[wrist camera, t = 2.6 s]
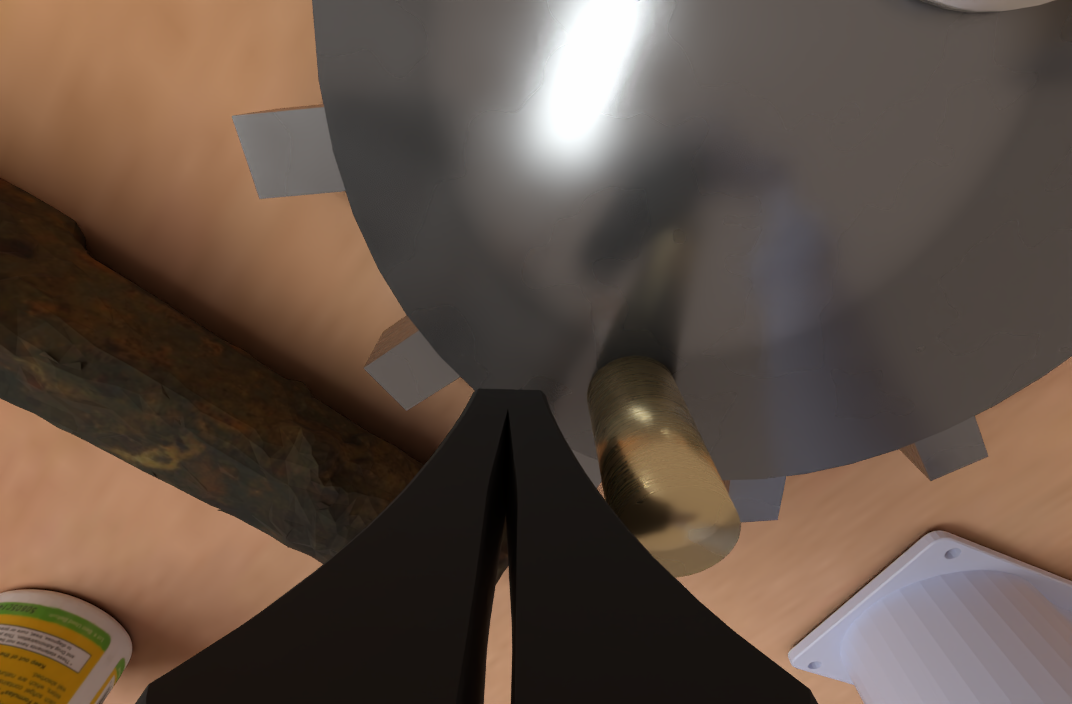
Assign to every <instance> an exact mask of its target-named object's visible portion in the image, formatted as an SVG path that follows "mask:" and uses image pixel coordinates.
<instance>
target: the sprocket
mask: <svg viewBox="0 0 1072 704" xmlns="http://www.w3.org/2000/svg"><path fill="white" fill-rule="evenodd" d="M312 4H313V16H314V28H315V41H316V53H317V65H318V78H319V84H320V89H321V94H322V99H323V104H322V105H311V106H301V107H291V108H280V109H272V110H266V111H260V112H253V113H247V114H241V115H234V116H232V119H233V122H234V125H235V128H236V130H237V133H238V136H239V139H240V142H241V145H242V148H243V151H244V154H245V157H246V160H247V163H248V166H249V169H250V172H251V175H252V178H253V181H254V184H255V187H256V189H257V192H258V195H259V198H260V199H264V198H275V197H286V196H297V195H308V194H319V193H330V192H341V191H346V194H347V197H348V200H349V203H350V206H351V209H352V212H353V215H354V217H355V219H356V222H357V224H358V226H359V228H360V230H361V232H362V235H363V237H364V239H365V241H366V243H367V245H368V248H369V250H370V252H371V254H372V256H373V258H374V261H375V263H376V265H377V267H378V269H379V271H380V273H381V274H382V276H383V277H384V279H385V281H386V282H387V284H388V285H389V287H390V289H391V290H392V292H393V294H394V295H395V297H396V298H397V300H398V302H399V303H400V305H401V307H402V308H403V310H404V311H405V313H406V316H405V317H404V318H402V319H401V320H399V321H398V322H396V323H395V324H394V325H392V326H391V327H389V328H388V329H386V330H385V331H384V332H383V333H382V335H381V337H380V339H379V341H378V343H377V344H376V346H375V348H374V350H373V352H372V354H371V355H370V357H369V359H368V361H367V363H366V365H365V366H364V369H365V370H366V371H367V372H368V373H369V374H370V375H371V376H372V377H373V378H374V379H375V380H376V381H377V382H378V383H379V384H380V385H381V386H382V387H383V388H384V389H385V390H386V391H387V392H388V393H389V394H390V395H391V396H392V397H393V398H394V399H395V400H396V401H397V402H398V403H399V404H400V405H401V406H402V407H403V408H404V409H405V410H406V411H407V410H409V409H410V408H412V407H413V406H415V405H417V404H418V403H420V402H421V401H423V400H424V399H426V398H428V397H429V396H431V395H432V394H434V393H436V392H437V391H439V390H440V389H442V388H443V387H445V386H447V385H448V384H450V383H451V382H453V381H455V380H456V379H458V378H459V377H461V378H463V379H464V380H465V381H466V382H467V383H468V384H469V385H470V386H471V387H472V388H473V389H474V390H475V391H476V390H477V389H514V390H541V391H542V392H543V393H544V394H545V395H546V399H547V402H548V404H549V407H550V409H551V412H552V414H553V416H554V418H555V420H556V423H557V425H558V427H559V429H560V431H561V432H562V434H563V436H564V438H565V440H566V442H567V443H568V445H569V447H570V448H571V450H572V452H573V453H574V455H575V457H576V458H577V460H578V462H579V463H580V465H581V466H582V468H583V469H584V471H585V473H586V474H587V476H588V477H589V478H590V480H591V481H592V483H593V484H594V486H595V487H596V488H597V487H598V486H599V484H600V483H601V481H602V486H603V491H604V497H605V501H606V502H607V503H608V505H609V506H610V507H611V508H612V510H613V511H614V512H615V514H616V515H617V516H618V517H619V518H620V520H621V521H622V522H623V523H624V524H625V526H626V527H627V528H628V529H629V530H630V531H631V533H632V534H633V535H634V536H635V537H636V538H637V539H638V540H639V541H640V543H641V544H642V545H643V546H644V547H645V548H646V549H647V550H648V551H649V552H650V554H651V555H652V556H653V557H654V558H655V559H656V560H657V561H658V562H659V563H660V564H661V565H662V566H663V567H664V568H665V569H666V570H668V571H669V572H670V573H671V574H672V575H673V576H674V577H683V576H688V575H692V574H695V573H698V572H701V571H703V570H706V569H708V568H710V567H712V566H713V565H715V564H717V563H718V562H719V561H721V560H722V559H723V558H724V557H725V556H727V555H728V554H729V552H730V551H731V550H732V549H733V547H734V546H735V544H736V543H737V540H738V538H739V535H740V529H741V523H740V522H754V521H768V520H778V515H779V510H780V505H781V500H782V495H783V490H784V485H785V480H786V476H792V475H800V474H807V473H811V472H816V471H821V470H825V469H830V468H834V467H839V466H844V465H848V464H852V463H856V462H859V461H862V460H865V459H869V458H872V457H875V456H878V455H882V454H885V453H888V452H891V451H894V450H898V449H900V450H901V451H902V452H903V453H904V454H905V455H906V456H907V457H908V458H909V459H910V460H911V462H912V463H913V464H914V465H915V466H916V467H917V468H918V469H919V470H920V471H921V472H922V473H923V474H924V475H925V476H926V477H927V478H928V479H929V480H930V481H932V480H934V479H937V478H939V477H941V476H944V475H946V474H948V473H951V472H953V471H955V470H958V469H960V468H962V467H965V466H967V465H969V464H972V463H974V462H976V461H979V460H981V459H983V458H986V457H988V454H987V451H986V448H985V445H984V442H983V439H982V436H981V433H980V430H979V427H978V424H977V421H976V418H975V415H977V414H979V413H981V412H983V411H985V410H987V409H989V408H991V407H993V406H995V405H997V404H998V403H1000V402H1002V401H1003V400H1005V399H1006V398H1008V397H1010V396H1011V395H1013V394H1015V393H1016V392H1018V391H1020V390H1021V389H1023V388H1025V387H1026V386H1028V385H1030V384H1031V383H1033V382H1035V381H1036V380H1038V379H1040V378H1041V377H1043V376H1045V375H1046V374H1047V373H1049V372H1050V371H1052V370H1053V369H1054V368H1056V367H1057V366H1059V365H1060V364H1061V363H1063V362H1064V361H1066V360H1067V359H1068V358H1070V357H1071V356H1072V0H312Z"/></svg>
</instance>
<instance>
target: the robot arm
mask: <svg viewBox="0 0 1072 704" xmlns="http://www.w3.org/2000/svg"><path fill="white" fill-rule="evenodd" d="M505 517H506V529H507V547H508V565H509V582H510V599H511V617H512V682H511V704H818V703H817V701H816V699H815V697H814V696H813V694H812V692H811V690H810V689H809V688H808V687H806V686H805V685H804V684H802V683H801V682H800V681H798V680H797V679H796V678H794V677H793V676H792V675H791V674H789V673H788V672H787V671H785V670H784V669H783V668H781V667H780V666H779V665H777V664H776V663H775V662H774V661H772V660H771V659H770V658H768V657H767V656H766V655H764V654H763V653H762V652H760V651H759V650H758V649H757V648H755V647H754V646H753V645H751V644H750V643H749V642H747V641H746V640H745V639H743V638H742V637H741V636H740V635H738V634H737V633H736V632H735V631H733V630H732V629H731V628H730V627H728V626H727V625H726V624H725V623H724V622H723V621H721V620H720V619H719V618H718V617H717V616H716V615H715V614H713V613H712V612H711V611H710V610H709V609H708V608H706V607H705V606H704V605H703V604H702V603H701V602H699V601H698V600H697V599H696V598H695V597H694V596H693V595H692V594H691V593H690V592H689V591H688V590H687V589H686V588H685V587H684V586H683V585H682V584H681V583H680V582H679V581H678V580H677V579H676V578H675V577H674V576H673V575H672V574H671V573H670V572H669V571H668V570H666V569H665V568H664V567H663V566H662V565H661V564H660V563H659V562H658V561H657V560H656V559H655V558H654V557H653V556H652V555H651V554H650V552H649V551H648V550H647V549H646V548H645V547H644V546H643V545H642V544H641V543H640V541H639V540H638V539H637V538H636V537H635V536H634V535H633V534H632V533H631V531H630V530H629V529H628V528H627V527H626V526H625V524H624V523H623V522H622V521H621V520H620V518H619V517H618V516H617V515H616V514H615V512H614V511H613V510H612V508H611V507H610V506H609V505H608V503H607V502H606V501H605V499H604V498H603V497H602V495H601V494H600V493H599V491H598V490H597V488H596V487H595V486H594V484H593V483H592V481H591V480H590V478H589V477H588V476H587V474H586V473H585V471H584V469H583V468H582V466H581V465H580V463H579V462H578V460H577V458H576V457H575V455H574V453H573V452H572V450H571V448H570V447H569V445H568V443H567V442H566V440H565V438H564V436H563V434H562V432H561V431H560V429H559V427H558V425H557V423H556V420H555V418H554V416H553V414H552V412H551V409H550V407H549V404H548V402H547V399H546V395H545V394H544V393H543V392H542V391H541V390H514V389H477V390H476V391H475V392H474V393H473V394H472V396H471V398H470V400H469V402H468V404H467V406H466V407H465V409H464V411H463V412H462V414H461V416H460V417H459V419H458V420H457V422H456V423H455V425H454V426H453V428H452V429H451V431H450V432H449V433H448V435H447V436H446V438H445V439H444V440H443V442H442V443H441V444H440V446H439V447H438V449H437V450H436V451H435V453H434V454H433V455H432V456H431V458H430V459H429V460H428V461H427V462H426V464H425V465H424V466H423V467H422V468H421V470H420V471H419V472H418V473H417V474H416V476H415V477H414V478H413V479H412V480H411V481H410V483H409V484H408V485H407V486H406V487H405V488H404V489H403V490H402V492H401V493H400V494H399V495H398V496H397V497H396V498H395V499H394V500H393V501H392V502H391V503H390V504H389V505H388V506H387V507H386V508H385V509H384V510H383V511H382V512H381V513H380V514H379V515H378V516H377V517H376V518H375V519H374V520H373V521H372V522H371V523H370V524H369V525H368V526H367V527H366V528H365V529H363V530H362V531H361V532H360V533H359V534H358V535H357V536H356V537H355V538H353V539H352V540H351V541H350V542H349V543H348V544H347V545H346V546H344V547H343V548H342V549H341V550H340V551H339V552H338V553H337V554H335V555H334V556H333V557H332V558H331V559H329V560H328V561H327V562H326V563H325V564H323V565H322V566H321V567H320V568H318V569H317V570H316V571H315V572H313V573H312V574H311V575H309V576H308V577H307V578H305V579H304V580H303V581H301V582H300V583H299V584H297V585H296V586H295V587H293V588H292V589H291V590H289V591H288V592H287V593H285V594H284V595H283V596H282V597H280V598H279V599H278V600H276V601H275V602H274V603H272V604H271V605H270V606H268V607H267V608H266V609H264V610H263V611H261V612H260V613H259V614H257V615H256V616H254V617H253V618H252V619H250V620H249V621H247V622H246V623H244V624H243V625H241V626H240V627H239V628H237V629H235V630H234V631H232V632H231V633H229V634H228V635H226V636H224V637H223V638H221V639H220V640H218V641H217V642H215V643H214V644H212V645H210V646H209V647H207V648H206V649H204V650H203V651H201V652H199V653H198V654H196V655H195V656H193V657H192V658H190V659H189V660H187V661H185V662H184V663H182V664H181V665H179V666H178V667H176V668H174V669H173V670H171V671H170V672H168V673H166V674H165V675H163V676H161V677H160V678H158V679H156V680H155V681H153V682H152V683H150V684H149V685H148V686H147V687H146V689H145V690H144V692H143V693H142V695H141V696H140V698H139V699H138V701H137V702H136V703H135V704H484V689H485V673H486V656H487V644H488V635H489V626H490V618H491V612H492V605H493V598H494V591H495V585H496V578H497V571H498V565H499V558H500V551H501V544H502V537H503V531H504V524H505ZM788 658H789V660H790V662H791V664H792V666H793V667H795V668H798V669H801V670H805V671H808V672H812V673H815V674H818V675H822V676H825V677H829V678H832V679H836V680H839V681H843V682H846V683H849V684H853V685H855V687H856V689H857V691H858V693H859V695H860V697H861V698H862V700H863V702H864V704H1072V581H1070V580H1068V579H1065V578H1062V577H1060V576H1057V575H1055V574H1052V573H1050V572H1047V571H1045V570H1042V569H1040V568H1037V567H1035V566H1032V565H1030V564H1027V563H1024V562H1022V561H1019V560H1017V559H1014V558H1012V557H1009V556H1007V555H1004V554H1002V553H999V552H997V551H994V550H992V549H989V548H987V547H984V546H981V545H979V544H976V543H974V542H971V541H969V540H966V539H964V538H961V537H959V536H956V535H954V534H951V533H949V532H946V531H940V530H938V531H932V532H930V533H928V534H926V535H924V536H923V537H922V538H921V539H920V540H918V541H917V542H916V543H915V544H914V545H913V546H911V547H910V548H909V549H908V550H907V551H906V552H904V553H903V554H902V555H901V556H900V557H899V558H897V559H896V560H895V561H894V562H893V563H891V564H890V565H889V566H888V567H887V568H886V569H884V570H883V571H882V572H881V573H880V574H879V575H877V576H876V577H875V578H874V579H873V580H872V581H870V582H869V583H868V584H867V585H866V586H865V587H863V588H862V589H861V590H860V591H859V592H858V593H856V594H855V595H854V596H853V597H852V598H851V599H849V600H848V601H847V602H846V603H845V604H844V605H842V606H841V607H840V608H839V609H838V610H836V611H835V612H834V613H833V614H832V615H831V616H829V617H828V618H827V619H826V620H825V621H824V622H822V623H821V624H820V625H819V626H818V627H817V628H815V629H814V630H813V631H812V632H811V633H810V634H808V635H807V636H806V637H805V638H804V639H803V640H801V641H800V642H799V643H798V644H797V645H796V646H794V647H793V648H792V649H791V650H790V651H789V653H788Z"/></svg>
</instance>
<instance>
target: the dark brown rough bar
mask: <svg viewBox="0 0 1072 704" xmlns="http://www.w3.org/2000/svg"><path fill="white" fill-rule="evenodd" d="M0 398H1V399H3V400H5V401H7V402H9V403H11V404H13V405H15V406H18V407H20V408H23V409H25V410H27V411H30V412H32V413H34V414H36V415H38V416H39V417H41V418H43V419H45V420H46V421H48V422H49V423H51V424H53V425H54V426H56V427H57V428H60V429H62V430H64V431H67V432H69V433H71V434H73V435H75V436H77V437H79V438H81V439H83V440H85V441H87V442H89V443H91V444H93V445H95V446H96V447H98V448H100V449H102V450H104V451H106V452H108V453H110V454H112V455H114V456H116V457H118V458H119V459H121V460H123V461H125V462H127V463H129V464H131V465H133V466H134V467H136V468H138V469H140V470H142V471H144V472H146V473H148V474H150V475H152V476H154V477H156V478H158V479H160V480H162V481H164V482H166V483H168V484H170V485H172V486H174V487H176V488H178V489H180V490H182V491H184V492H186V493H188V494H190V495H191V496H193V497H195V498H197V499H199V500H201V501H203V502H205V503H207V504H209V505H211V506H213V507H216V508H219V509H221V510H217V511H223V512H225V513H228V514H230V515H232V516H235V517H237V518H238V519H240V520H242V521H244V522H246V523H248V524H249V525H251V526H253V527H255V528H257V529H259V530H261V531H263V532H264V533H266V534H268V535H270V536H271V537H273V538H275V539H276V540H278V541H279V542H281V543H283V544H284V545H286V546H287V547H290V548H292V549H295V550H297V551H300V552H302V553H305V554H307V555H309V556H312V557H313V558H315V559H316V560H318V561H319V562H321V563H322V564H325V563H326V562H327V561H328V560H329V559H331V558H332V557H333V556H334V555H335V554H337V553H338V552H339V551H340V550H341V549H342V548H343V547H344V546H346V545H347V544H348V543H349V542H350V541H351V540H352V539H353V538H355V537H356V536H357V535H358V534H359V533H360V532H361V531H362V530H363V529H365V528H366V527H367V526H368V525H369V524H370V523H371V522H372V521H373V520H374V519H375V518H376V517H377V516H378V515H379V514H380V513H381V512H382V511H383V510H384V509H385V508H386V507H387V506H388V505H389V504H390V503H391V502H392V501H393V500H394V499H395V498H396V497H397V496H398V495H399V494H400V493H401V492H402V490H403V489H404V488H405V487H406V486H407V485H408V484H409V483H410V481H411V480H412V479H413V478H414V477H415V476H416V474H417V473H418V472H419V471H420V470H421V468H422V467H423V466H424V465H423V464H421V463H420V462H418V461H417V460H415V459H413V458H412V457H410V456H409V455H407V454H406V453H405V452H403V451H402V450H400V449H399V448H397V447H396V446H394V445H392V444H390V443H388V442H386V441H384V440H382V439H380V438H378V437H377V436H375V435H373V434H371V433H369V432H368V431H366V430H364V429H363V428H361V427H360V426H358V425H356V424H355V423H353V422H352V421H350V420H348V419H347V418H345V417H344V416H342V415H340V414H339V413H337V412H336V411H334V410H333V409H331V408H330V407H328V406H327V405H325V404H323V403H322V402H320V401H319V400H317V399H316V398H314V397H313V395H312V394H311V392H310V391H309V389H308V388H307V387H306V386H305V384H304V383H303V382H299V381H294V380H289V379H285V378H283V377H282V376H280V375H278V374H277V373H275V372H274V371H272V370H271V369H269V368H268V367H267V366H266V365H264V364H261V363H260V362H259V361H257V360H256V359H255V358H253V357H252V356H251V355H250V354H248V353H247V352H246V351H244V350H243V349H240V348H238V347H236V346H234V345H232V344H230V343H228V342H226V341H224V340H222V339H221V338H219V337H218V336H216V335H215V334H213V333H211V332H210V331H208V330H207V329H205V328H204V327H202V326H200V325H199V324H197V323H196V322H194V321H193V320H191V319H189V318H188V317H186V316H185V315H183V314H182V313H180V312H178V311H177V310H175V309H174V308H172V307H171V306H169V305H168V304H166V303H164V302H163V301H161V300H160V299H158V298H157V297H155V296H153V295H152V294H150V293H149V292H147V291H145V290H144V289H142V288H141V287H139V286H137V285H136V284H134V283H133V282H131V281H129V280H128V279H126V278H125V277H123V276H121V275H120V274H118V273H116V272H115V271H113V270H111V269H110V268H108V267H106V266H105V265H103V264H101V263H100V262H98V261H96V260H94V259H93V258H92V257H91V256H90V254H89V253H88V252H87V251H86V242H85V237H84V235H83V233H82V232H81V230H80V228H79V227H78V225H77V223H76V222H75V221H74V220H72V219H71V218H69V217H68V216H66V215H64V214H63V213H61V212H60V211H58V210H56V209H55V208H53V207H51V206H50V205H48V204H46V203H44V202H43V201H41V200H39V199H37V198H36V197H34V196H32V195H31V194H29V193H27V192H25V191H23V190H21V189H20V188H18V187H16V186H14V185H12V184H10V183H8V182H6V181H4V180H3V179H1V178H0ZM507 567H508V547H507V529H506V517H505V524H504V531H503V537H502V544H501V551H500V558H499V565H498V571H497V578H496V584H497V582H498V580H499V579H500V577H501V575H502V574H503V572H504V571H505V570H506V568H507Z"/></svg>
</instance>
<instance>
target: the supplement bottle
mask: <svg viewBox="0 0 1072 704" xmlns="http://www.w3.org/2000/svg"><path fill="white" fill-rule="evenodd" d="M131 654H132V642H131V639H130V637H129V635H128V633H127V632H126V630H125V629H124V628H123V627H122V626H121V625H120V624H119V623H118V622H117V621H116V620H115V619H114V618H113V617H111V616H110V615H109V614H107V613H106V612H104V611H103V610H101V609H99V608H97V607H96V606H94V605H92V604H90V603H88V602H86V601H83V600H81V599H79V598H76V597H73V596H70V595H67V594H63V593H59V592H54V591H48V590H37V589H22V590H13V591H7V592H3V593H0V704H102V703H103V701H104V700H105V698H106V697H107V696H108V694H109V693H110V691H111V690H112V688H113V686H114V685H115V683H116V682H117V680H118V679H119V677H120V676H121V674H122V672H123V671H124V669H125V668H126V666H127V664H128V662H129V660H130V658H131Z"/></svg>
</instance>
